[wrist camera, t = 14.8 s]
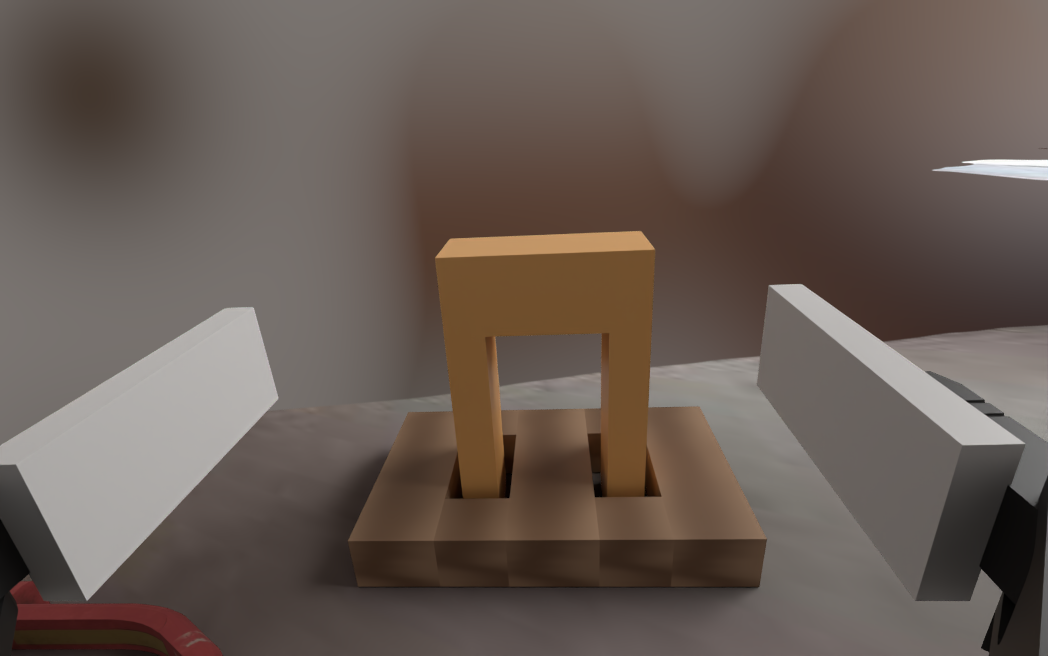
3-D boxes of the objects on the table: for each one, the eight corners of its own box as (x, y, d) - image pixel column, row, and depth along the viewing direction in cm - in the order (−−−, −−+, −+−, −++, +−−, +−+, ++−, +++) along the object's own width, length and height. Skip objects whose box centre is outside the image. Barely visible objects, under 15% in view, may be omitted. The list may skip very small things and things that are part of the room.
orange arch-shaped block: (632, 482, 33) (640, 231, 27) (642, 528, 30) (654, 249, 24) (475, 484, 34) (450, 238, 28) (466, 529, 30) (435, 257, 24)
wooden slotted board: (696, 444, 37) (699, 406, 36) (759, 586, 26) (766, 539, 25) (413, 448, 38) (408, 412, 37) (357, 586, 27) (347, 541, 26)
